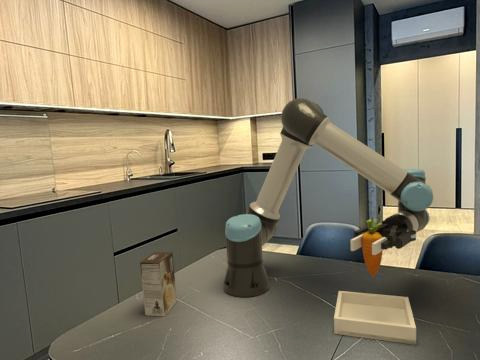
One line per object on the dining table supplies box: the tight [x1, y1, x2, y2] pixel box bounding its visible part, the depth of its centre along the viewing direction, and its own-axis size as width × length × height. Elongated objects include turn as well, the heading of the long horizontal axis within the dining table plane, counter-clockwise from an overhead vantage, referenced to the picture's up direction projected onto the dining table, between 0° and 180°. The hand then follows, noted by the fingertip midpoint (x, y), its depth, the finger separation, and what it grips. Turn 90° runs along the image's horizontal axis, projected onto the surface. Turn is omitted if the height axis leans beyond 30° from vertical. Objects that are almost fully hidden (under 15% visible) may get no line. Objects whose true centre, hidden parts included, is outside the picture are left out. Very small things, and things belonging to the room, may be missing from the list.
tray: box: [333, 290, 417, 346], centre depth 89 cm, size 18×16×4 cm
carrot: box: [361, 218, 384, 277], centre depth 87 cm, size 5×5×15 cm
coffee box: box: [139, 251, 178, 317], centre depth 102 cm, size 9×6×16 cm
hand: (362, 247), depth 83 cm, fingers closed on carrot, 5 cm apart
